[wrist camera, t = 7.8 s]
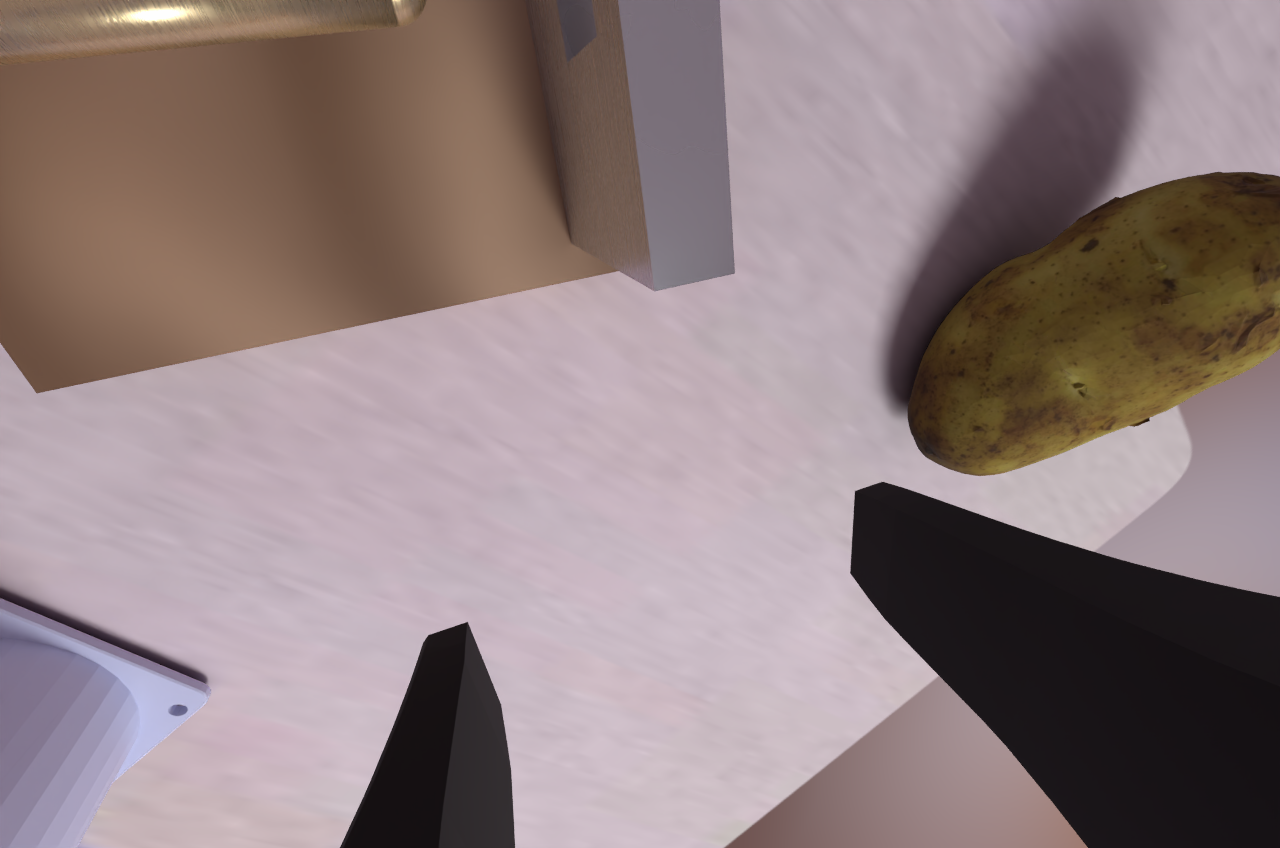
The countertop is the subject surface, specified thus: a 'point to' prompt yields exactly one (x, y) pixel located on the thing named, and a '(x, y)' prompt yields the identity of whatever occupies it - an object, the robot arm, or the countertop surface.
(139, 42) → the copper disc on rod
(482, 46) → the base board
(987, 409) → the potato
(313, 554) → the countertop surface
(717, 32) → the eye plate
